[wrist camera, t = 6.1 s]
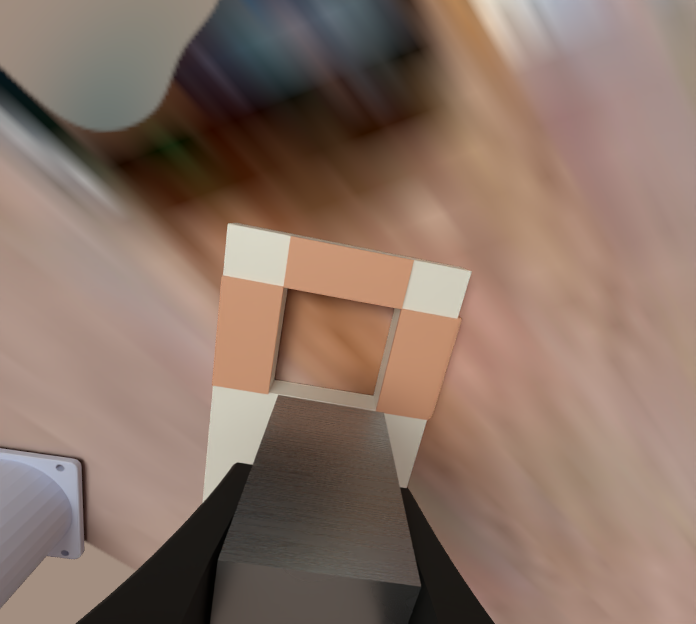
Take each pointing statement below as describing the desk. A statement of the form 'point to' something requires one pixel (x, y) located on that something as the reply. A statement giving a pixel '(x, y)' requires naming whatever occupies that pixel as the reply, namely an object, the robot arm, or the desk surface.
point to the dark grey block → (319, 525)
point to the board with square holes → (337, 281)
